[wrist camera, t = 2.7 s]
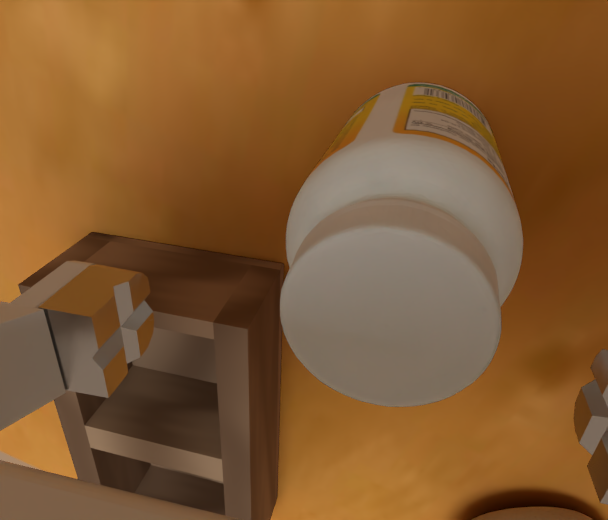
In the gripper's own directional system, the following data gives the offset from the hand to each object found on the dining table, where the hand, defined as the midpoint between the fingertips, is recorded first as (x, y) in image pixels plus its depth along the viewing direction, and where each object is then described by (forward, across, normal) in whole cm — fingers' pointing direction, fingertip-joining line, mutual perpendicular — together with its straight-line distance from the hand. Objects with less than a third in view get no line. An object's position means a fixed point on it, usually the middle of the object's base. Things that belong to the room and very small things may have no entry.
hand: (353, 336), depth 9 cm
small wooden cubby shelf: (+10, +8, +13) cm, 18 cm away
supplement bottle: (+10, -1, 0) cm, 10 cm away
